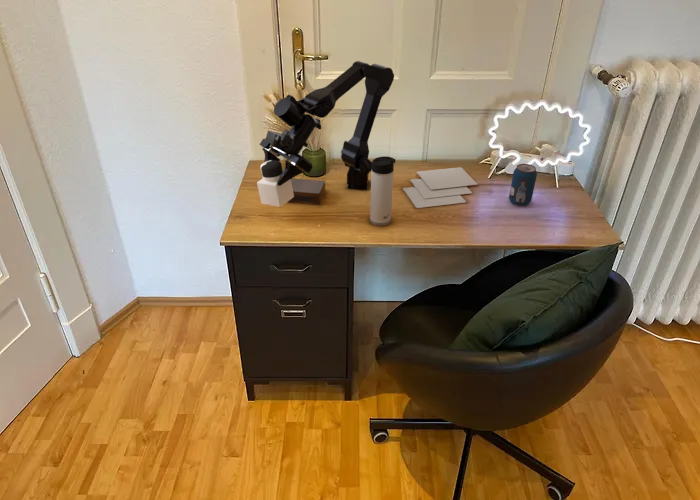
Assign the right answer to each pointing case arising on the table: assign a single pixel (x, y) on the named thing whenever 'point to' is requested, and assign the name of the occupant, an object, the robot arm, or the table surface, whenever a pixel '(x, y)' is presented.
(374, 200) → the travel mug
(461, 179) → the paper stack
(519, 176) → the soda can
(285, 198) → the medicine bottle
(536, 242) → the table surface
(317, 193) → the brown slotted box
